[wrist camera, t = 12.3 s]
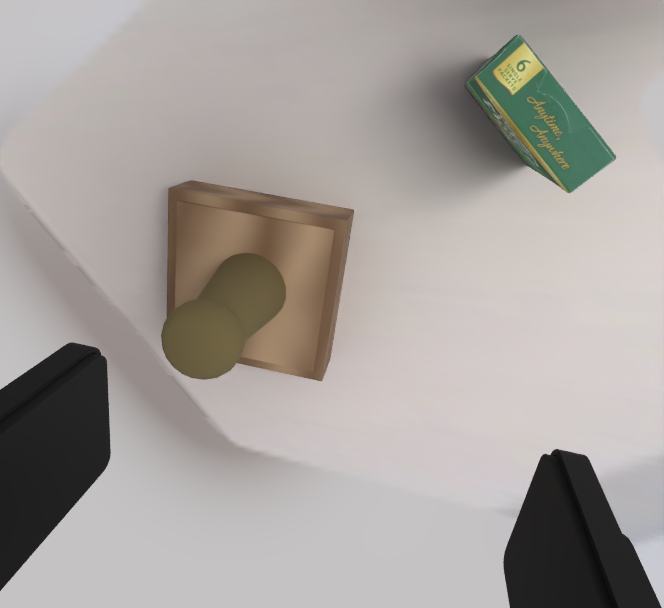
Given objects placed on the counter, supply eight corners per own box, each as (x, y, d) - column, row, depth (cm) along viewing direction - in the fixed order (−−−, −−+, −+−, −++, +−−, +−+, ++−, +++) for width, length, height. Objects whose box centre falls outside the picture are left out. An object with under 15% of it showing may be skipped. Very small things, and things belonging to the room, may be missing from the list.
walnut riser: (354, 209, 41) (346, 221, 38) (330, 359, 47) (321, 382, 43) (190, 180, 43) (167, 188, 39) (186, 328, 48) (165, 348, 44)
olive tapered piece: (207, 254, 40) (134, 307, 30) (280, 250, 39) (229, 303, 29) (221, 324, 43) (158, 394, 33) (291, 322, 41) (247, 394, 31)
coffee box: (457, 82, 37) (472, 75, 25) (491, 51, 36) (523, 28, 24) (525, 168, 38) (570, 201, 26) (559, 141, 37) (623, 162, 25)
